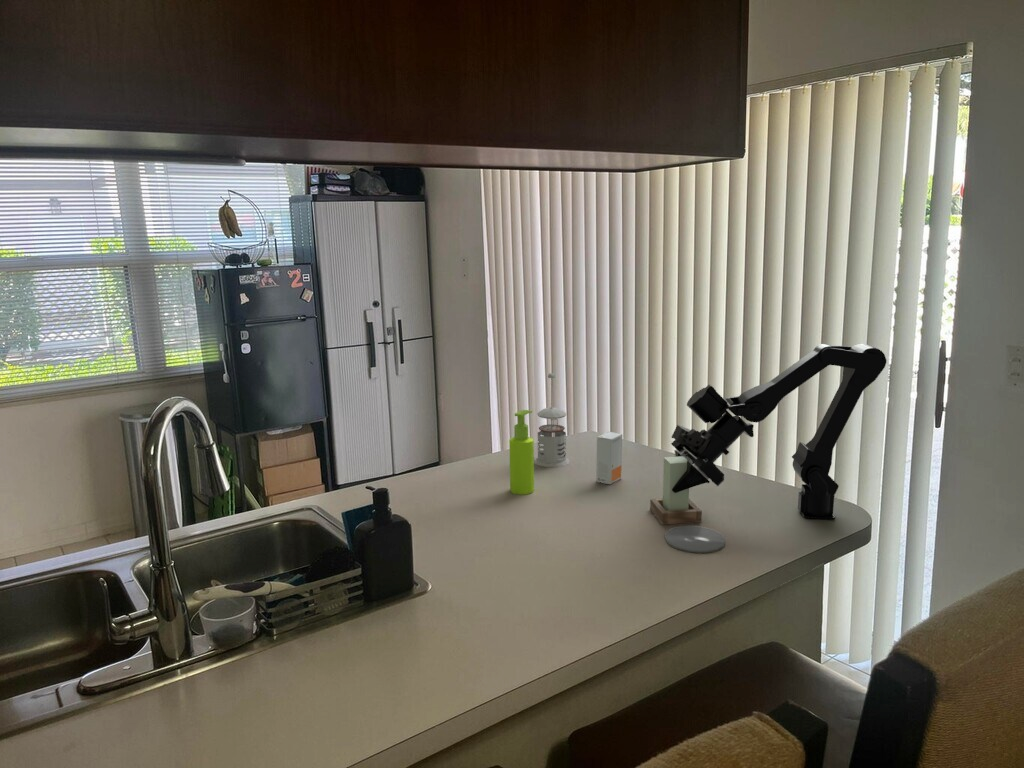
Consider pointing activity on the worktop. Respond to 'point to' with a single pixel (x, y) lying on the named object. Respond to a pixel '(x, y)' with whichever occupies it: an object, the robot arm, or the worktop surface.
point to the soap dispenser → (521, 458)
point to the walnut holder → (675, 513)
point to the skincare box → (609, 458)
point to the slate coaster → (694, 539)
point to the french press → (552, 438)
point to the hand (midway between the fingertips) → (669, 487)
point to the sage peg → (671, 475)
